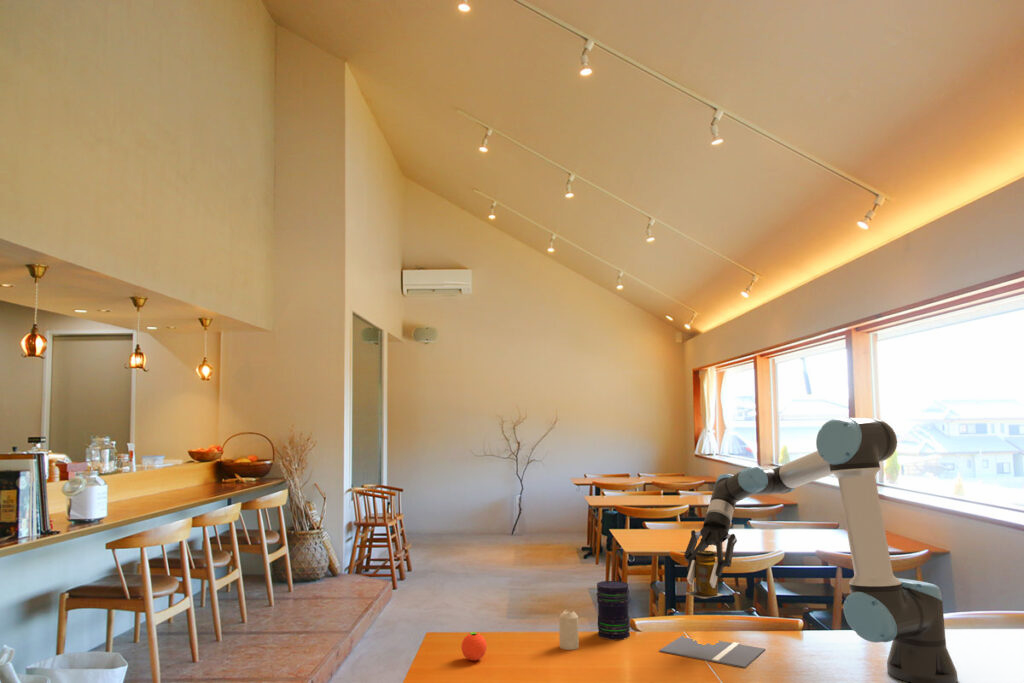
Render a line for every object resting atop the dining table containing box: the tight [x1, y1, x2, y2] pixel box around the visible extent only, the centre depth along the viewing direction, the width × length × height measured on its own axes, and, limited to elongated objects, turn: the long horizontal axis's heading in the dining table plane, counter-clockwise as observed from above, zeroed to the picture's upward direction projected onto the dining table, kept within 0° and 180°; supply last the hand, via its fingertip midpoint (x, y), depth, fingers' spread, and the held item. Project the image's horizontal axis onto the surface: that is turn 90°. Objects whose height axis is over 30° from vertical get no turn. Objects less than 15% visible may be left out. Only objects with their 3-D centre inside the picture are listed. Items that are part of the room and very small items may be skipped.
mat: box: [658, 635, 766, 669], centre depth 190 cm, size 24×18×1 cm
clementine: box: [460, 631, 488, 661], centre depth 185 cm, size 8×7×7 cm
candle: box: [558, 609, 580, 651], centre depth 195 cm, size 6×6×10 cm
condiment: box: [685, 550, 725, 600], centre depth 196 cm, size 7×8×12 cm
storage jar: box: [596, 580, 631, 641], centre depth 207 cm, size 10×10×15 cm
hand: (700, 583), depth 192 cm, fingers closed on condiment, 6 cm apart
